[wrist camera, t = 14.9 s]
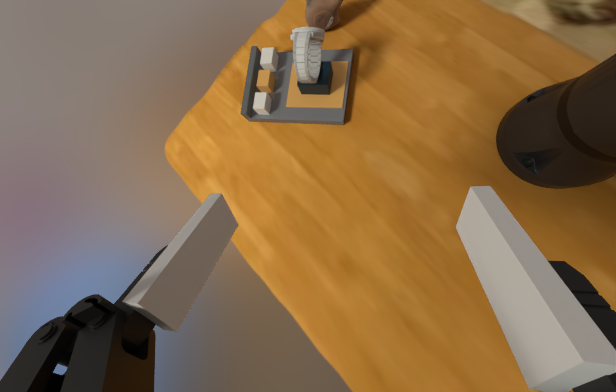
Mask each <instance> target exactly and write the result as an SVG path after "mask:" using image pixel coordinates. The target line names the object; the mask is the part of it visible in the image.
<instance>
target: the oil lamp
mask: <svg viewBox="0 0 616 392" xmlns="http://www.w3.org/2000/svg"><path fill="white" fill-rule="evenodd" d="M342 1H343V0H307V6H306V12H305V17H306V21H307V23H308V25H309V26H310V27H317V28H321V29H323V30H324V31H325V30H328V29H330V28H332V27H334V26H335V25H337V24H339V22H340V13H339V10H340V6H341V3H342Z"/></svg>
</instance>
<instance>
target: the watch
mask: <svg viewBox="0 0 616 392" xmlns="http://www.w3.org/2000/svg"><path fill="white" fill-rule="evenodd" d="M324 34H325V31H324V30H323V29H321V28H317V27H299V28H295V29H293V34H291V40H294V41H293V60H294V67H295V72H296V75H297V78H298V81H297V86H298V88H299V90H300V92H301V94H312V95H330V90H331V84H332V77H333V69H332V64H331V61H321V44H323V41H324ZM315 49H317V50H315ZM297 62H301V63H297Z"/></svg>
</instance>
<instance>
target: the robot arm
mask: <svg viewBox="0 0 616 392" xmlns="http://www.w3.org/2000/svg"><path fill="white" fill-rule="evenodd" d="M496 143H497V149H498V152H499V155H500V157H501V159H502V161H503V162H504V164H505V165H506V166H507V167H508V169H509V170H510V171H511V172H513V173H514V174H515V175H516V176H518V177H519V178H521V179H523V180H525V181H527V182H529V183H531V184H534V185H537V186H541V187H546V188H556V189H562V188H572V187H580V186H586V185H591V184H594V183H598V182H601V181H603V180H606V179H608V178H610V177H612V176H614V175H615V174H616V54H615V55H613V56H611V57H610V58H608V59H607V60H605V61H603V62H602V63H600V64H599V65H597V66H596V67H594V68H592V69H591V70H589V71H588V72H586V73H585V74H583V75H582V76H580V77H576V78H573V79H570V80H567V81H564V82H561V83H557V84H554V85H551V86H548V87H545V88H542V89H540V90H538V91H536V92H534V93H532V94H530V95H528V96H527V97H525V98H524V99H523V100H521V101H520V102H518V103H517V104H516V105H514V106H513V107H512V108H511V109H510V110H509V111H508V112H507V113H506V114H505V116H504V117H503V119H502V120H501V122H500V125H499V127H498V131H497V136H496ZM237 226H238V223H237V221H236V220H235V218H234V216H233V214H232V212H231V210H230V208H229V206H228V205H227V203H226V201H225V199H224V197H223V195H222V193H221V194H210V195H209V197H208V198H207V199H206V200H205V201H204V203H203V204H202V205H201V206H200V208H199V209H198V210H197V211H196V212H195V214H194V215H193V216H192V217H191V219H190V220H189V221H188V222H187V223H186V225H185V226H184V227H183V228H182V229H181V231H180V232H179V233H178V234H177V235H176V237H175V238H174V239H173V240H172V242H171V243H170V244H169V245H167V246H166V247H164V248H163V249H162V250H161V251H159V252H158V253H157V254H156V255H155V256H154V257H153V259H152V260H151V261H150V263H149V264H148V265H147V266H146V267H145V268H144V269H143V272H141V273H140V274H139V275H138V277H137V278H136V279H135V280H134V281H133V282H132V284H131V285H130V286H129V287H128V288H127V290H126V291H125V292H124V293H123V294H122V295H121V297H120V298H119V299H118V300H117V301H116V302H115V303H114V304H112V303H111V302H109V301H108V300H106V299H105V298H103V297H102V296H100V295H99V294H98V295H91V296H88V297H86V298H84V299H82V300H81V301H79V302H78V303H77V304H75V305H74V306H73V307H72V308H71V309H70V310H69V311H68V312H67V313H66V314H65V315H64V317H63V316H62V317H57V318H55V319H53V320H51V321H49V322H47V323H46V324H44V325H43V326H41V327H40V328H39V329H38V330H37V331H36V332H35V333H34V334H33V335H32V336H31V338H30V339H29V340H28V341H27V343H26V344H25V346H24V347H23V349H22V350H21V352H20V353H19V355H18V356H17V358H16V359H15V360H14V362H13V363H12V365H11V366H10V368H9V369H8V371H7V372H6V374H5V375H4V376H3V378H2V379H1V381H0V392H154V370H155V332H154V330H153V328H154V326H155V325H157V326H159V327H160V328H162V329H163V330H169V331H175V332H177V331H178V330H179V328H180V326H181V324H182V322H183V321H184V319H185V317H186V315H187V314H188V312H189V310H190V309H191V307H192V305H193V303H194V302H195V300H196V298H197V296H198V294H199V293H200V291H201V289H202V287H203V286H204V284H205V282H206V280H207V279H208V277H209V275H210V273H211V272H212V270H213V268H214V266H215V265H216V263H217V261H218V260H219V258H220V256H221V254H222V253H223V251H224V249H225V247H226V246H227V244H228V242H229V240H230V239H231V237H232V235H233V233H234V232H235V230H236V228H237ZM456 229H457V231H458V233H459V236H460V238H461V240H462V242H463V244H464V247H465V249H466V251H467V253H468V255H469V258H470V260H471V262H472V264H473V267H474V269H475V271H476V273H477V275H478V278H479V280H480V282H481V284H482V286H483V289H484V291H485V293H486V295H487V297H488V300H489V302H490V304H491V306H492V308H493V311H494V313H495V315H496V317H497V319H498V322H499V324H500V326H501V328H502V330H503V333H504V335H505V337H506V339H507V341H508V344H509V346H510V348H511V350H512V352H513V355H514V357H515V359H516V361H517V363H518V366H519V368H520V370H521V372H522V374H523V377H524V379H525V381H526V383H527V385H528V388H529V389H532V390H538V391H544V392H567V391H570V390H573V391H574V392H616V312H615V311H614V310H611V308H610V307H611V306H610V305H609V304H608V303H607V302H606V300H605V299H604V298H603V297H602V296H600V295H599V294H598V291H597V290H596V289H595V288H594V287H593V285H592V284H591V283H590V282H589V281H588V280H587V278H586V277H585V276H584V275H583V274H581V273H580V272H578V271H577V270H576V269H574V268H573V267H571V266H570V265H569V264H567V263H566V262H565V261H547V260H546V258H545V257H544V256H543V254H542V253H541V252H540V251H539V249H538V248H537V247H536V245H535V244H534V243H533V241H532V240H531V239H530V237H529V236H528V235H527V233H526V232H525V231H524V230H523V228H522V227H521V226H520V224H519V223H518V222H517V220H516V219H515V218H514V216H513V215H512V214H511V213H510V211H509V210H508V209H507V207H506V206H505V205H504V203H503V202H502V201H501V199H500V198H499V197H498V196H497V194H496V193H495V192H494V190H493V189H492V188H491V186H471V187H470V189H469V192H468V195H467V198H466V200H465V203H464V206H463V209H462V212H461V214H460V217H459V220H458V223H457V226H456ZM57 364H60V365H63V366H66V367H68V368H67V371H66V372H65V373H64V374H63V375H59V374H55V373H53V371H54V369H55V367H56V365H57Z"/></svg>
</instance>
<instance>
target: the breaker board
mask: <svg viewBox="0 0 616 392" xmlns="http://www.w3.org/2000/svg"><path fill="white" fill-rule="evenodd" d="M352 60H353V49H340V50H321V61H331V64H332V69H333V77H332V84H331V90H330V95H312V94H301V92H300V90H299V88H298V86H297V81H298V78H297V75H296V72H295V67H294V60H293V52H280V53H276V51H275V49H274V47H272V48H262V53H261V52H260V50H259V49H258V47H257V46H252V47H251V53H250V59H249V65H248V71H247V77H246V83H245V90H244V96H243V102H242V108H241V115H243V116H244V117H245V118H246V119H247V120H248V121H252V122H279V123H305V124H332V125H344V120H345V113H346V105H347V98H348V90H349V83H350V75H351V68H352ZM297 63H301V62H297Z"/></svg>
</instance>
